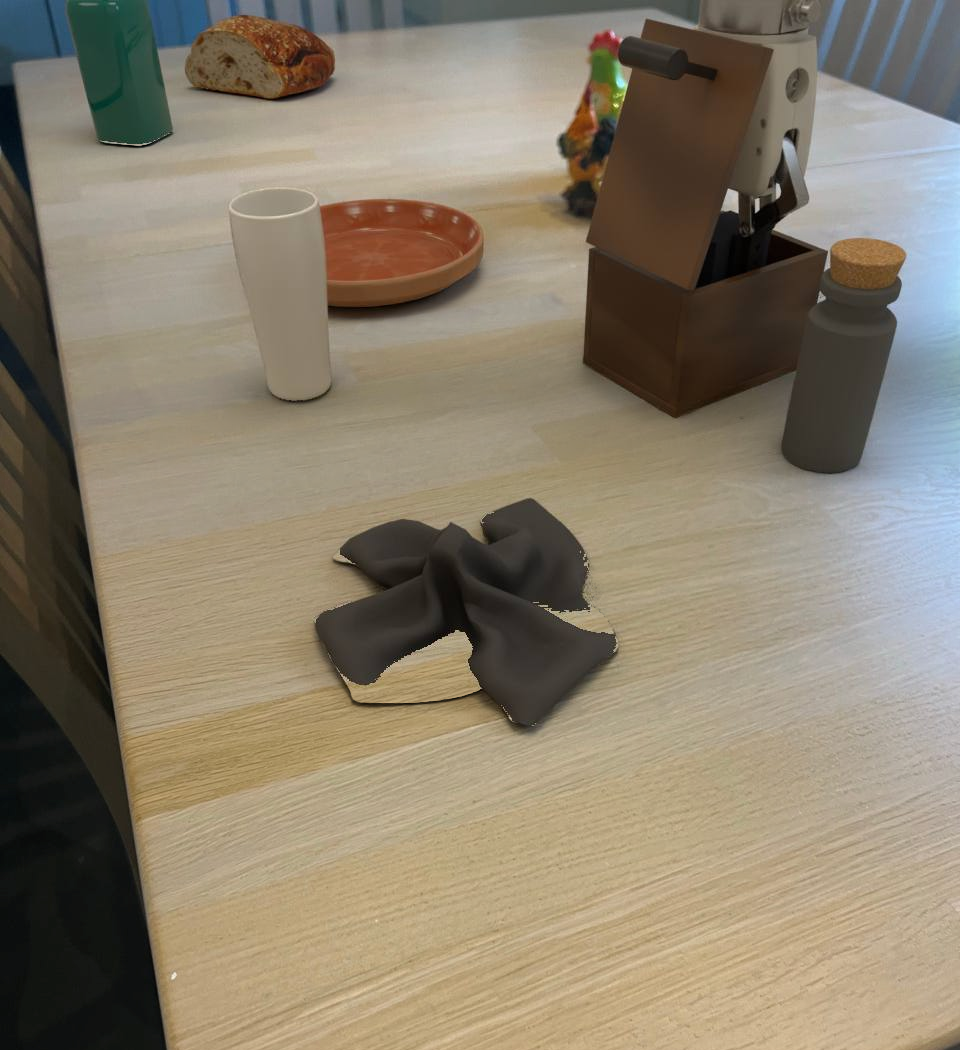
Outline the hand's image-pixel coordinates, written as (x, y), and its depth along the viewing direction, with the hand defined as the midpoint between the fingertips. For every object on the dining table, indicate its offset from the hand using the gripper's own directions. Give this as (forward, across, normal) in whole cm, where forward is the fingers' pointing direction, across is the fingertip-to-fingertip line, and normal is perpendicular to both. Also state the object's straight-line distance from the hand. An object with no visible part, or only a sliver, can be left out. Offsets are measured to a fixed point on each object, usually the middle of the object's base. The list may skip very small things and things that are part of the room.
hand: (718, 269), depth 81 cm
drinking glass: (+8, +16, +30) cm, 35 cm away
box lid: (-10, 0, +6) cm, 11 cm away
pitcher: (+8, +95, +16) cm, 97 cm away
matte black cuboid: (0, 0, 0) cm, 0 cm away
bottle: (+8, -16, +4) cm, 18 cm away
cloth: (+8, -15, +34) cm, 38 cm away
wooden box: (+8, 0, +2) cm, 8 cm away
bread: (+8, +109, -12) cm, 110 cm away
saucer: (+8, +34, +14) cm, 37 cm away
